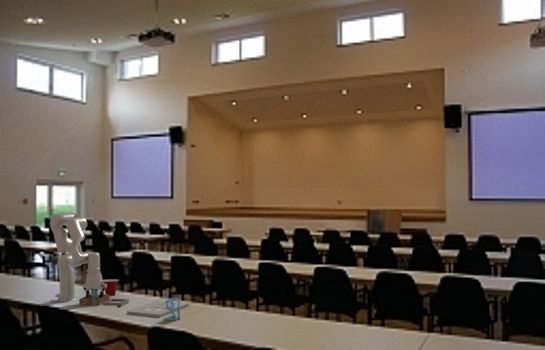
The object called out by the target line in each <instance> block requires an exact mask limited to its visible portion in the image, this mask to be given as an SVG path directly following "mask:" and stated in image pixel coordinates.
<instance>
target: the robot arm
mask: <svg viewBox="0 0 545 350" xmlns="http://www.w3.org/2000/svg"><path fill="white" fill-rule="evenodd" d="M63 226H65V227H66V228H67V230H66V229H65V228H64V227H63ZM49 227H50V229H51V231H52V233H53V238H54V242H55V245H56V250H57V251H58V253H61V255H60V256H59V257H58V258H57V267H58V272H59V293H55V296H54V297H55V298H57V302H60V303H68V302H71V301H73V300H76V299H77V298H78V297H77V296H76V293H75V292H76V291H75V289H76V288H75V287H76V285H75V272H74V270H73V269H72V268H75V267H80V266H82V265H83V264H87V269H86V272H87V274H86V278H85V283H83V284H82V285H81V286H82V288H83V291H85V292H84V293H85V296H86V298H88V297H90V294H91V289H98V291H99V295H100V298H102V297H103V296H104V295H105V294H104V292H105V289H106V287H107V284H105V283H103V275H102V272H101V256H100V253H99V252H93V251H84V252H83V250H82V246H81V243H82V241H84V240H85V239H86V236H85V234H84V231H83V230H85V229H86V228H87V227H88V222H87V219H86V218H85V217H83V216H82V215H79V214H77V213H75V212H64V213H63V212H62V213H60V212H59V213H56V214H53V215H52V216H51V217H50V220H49ZM67 232H68V233H67ZM68 234H69V235H68Z"/></svg>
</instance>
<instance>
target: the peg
mask: <svg viewBox="0 0 545 350" xmlns="http://www.w3.org/2000/svg"><path fill="white" fill-rule="evenodd" d="M90 294H91V299H98V294H99V289H90Z"/></svg>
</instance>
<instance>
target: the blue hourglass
mask: <svg viewBox="0 0 545 350" xmlns="http://www.w3.org/2000/svg"><path fill="white" fill-rule="evenodd" d="M164 301H165V302H166V305H167V306H166V307H165V309H168V310H170V311H171V313H170V314H172V315H170V316H167V317H164V318H163V320H164V321H178V320H181V309H180V308H181V306H179V303H181V300H180V299H178V298H176V297H169V298H167V299H166V300H164ZM168 302H170V303H172V306H169V307H168V304H167V303H168ZM174 302H179V303H178V306H175V305H174ZM175 309H177V311H176V312H177V316H176V313H175V312H173V310H175Z"/></svg>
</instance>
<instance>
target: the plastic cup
mask: <svg viewBox="0 0 545 350" xmlns="http://www.w3.org/2000/svg"><path fill="white" fill-rule="evenodd" d="M102 281H103V283H105V284H107V287H106V289H105V290H104V292H105V295H110V297H115V296H116V292H117V287H118V282H119V279H114V278H113V279H102Z"/></svg>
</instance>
